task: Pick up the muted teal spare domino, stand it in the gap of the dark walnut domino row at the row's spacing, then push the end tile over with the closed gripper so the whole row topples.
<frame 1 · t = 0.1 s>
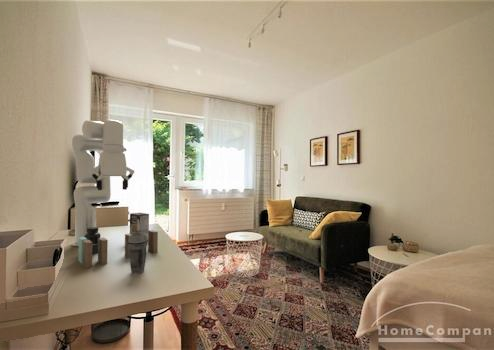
hand: (112, 189, 101), 31 cm above the table, tool pointing down, fingers open, 9 cm apart
domino 3: (129, 256, 109), on the table
teal domino: (82, 261, 103), on the table
domino 1: (87, 265, 98), on the table
beverage cup: (137, 272, 92), on the table
supplement bottle: (91, 253, 115), on the table
domino 5: (152, 251, 117), on the table
domino 2: (102, 262, 101), on the table
coffee box: (139, 242, 135), on the table
domino 4: (141, 253, 113), on the table
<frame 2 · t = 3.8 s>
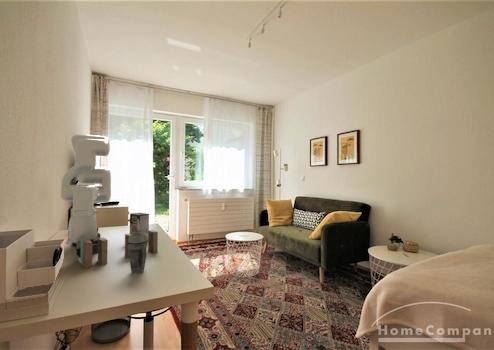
hand: (82, 256, 103), 2 cm above the table, tool pointing down, fingers closed on teal domino, 1 cm apart
teal domino: (82, 261, 103), on the table, touching gripper
everything else where it was.
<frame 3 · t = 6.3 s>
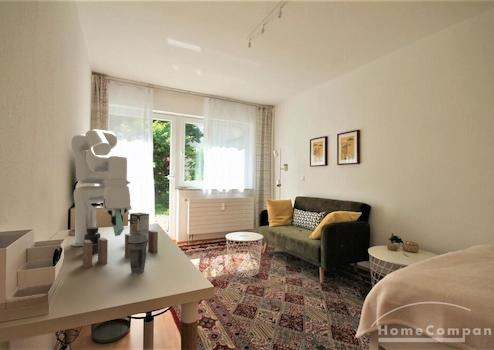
hand: (117, 224, 106), 16 cm above the table, tool pointing down, fingers closed on teal domino, 1 cm apart
teal domino: (119, 232, 103), point 12 cm above the table, tilted 36°, touching gripper
everything else where it was.
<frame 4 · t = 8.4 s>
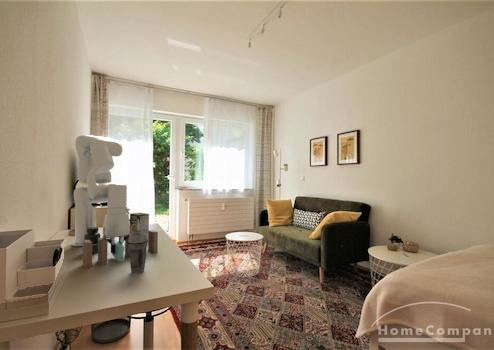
hand: (116, 252, 105), 3 cm above the table, tool pointing down, fingers closed on teal domino, 1 cm apart
teal domino: (120, 253, 102), point 4 cm above the table, tilted 82°, touching gripper
everything else where it was.
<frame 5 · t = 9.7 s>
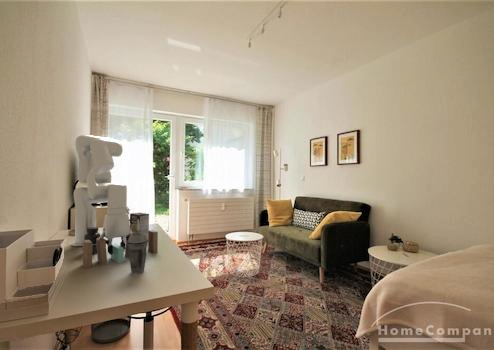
hand: (116, 252, 106), 3 cm above the table, tool pointing down, fingers open, 4 cm apart
teal domino: (121, 255, 102), point 3 cm above the table, tilted 90°
domino 2: (102, 262, 101), on the table, touching gripper
everything else where it was.
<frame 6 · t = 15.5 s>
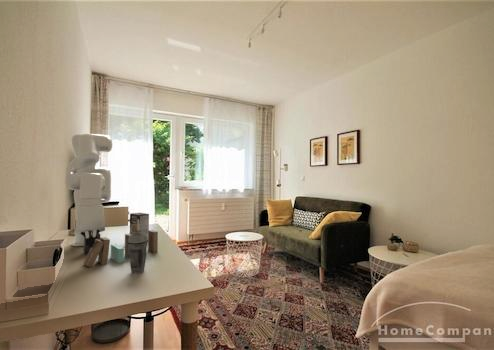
hand: (89, 246, 98), 8 cm above the table, tool pointing down, fingers closed
domino 1: (87, 264, 98), on the table, tilted 25°, touching domino 2
domino 2: (102, 262, 101), on the table, tilted 5°, touching domino 1
everything else where it was.
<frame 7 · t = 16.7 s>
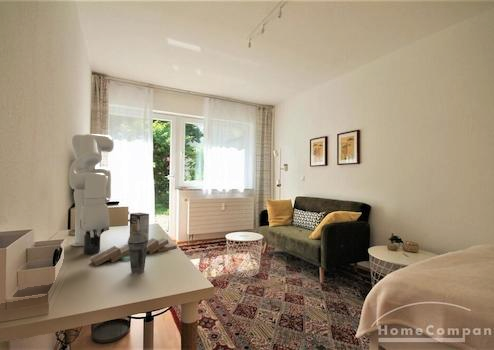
hand: (94, 246, 99), 8 cm above the table, tool pointing down, fingers closed
domino 3: (136, 252, 112), point 1 cm above the table, tilted 66°, touching domino 4
teal domino: (131, 259, 105), on the table, tilted 90°, touching domino 2
domino 1: (93, 262, 99), point 1 cm above the table, tilted 70°, touching domino 2
domino 5: (155, 250, 118), on the table, tilted 90°, touching domino 4
domino 2: (109, 258, 103), point 1 cm above the table, tilted 72°, touching domino 1, teal domino
domino 4: (147, 250, 115), point 1 cm above the table, tilted 71°, touching domino 3, domino 5
everything else where it was.
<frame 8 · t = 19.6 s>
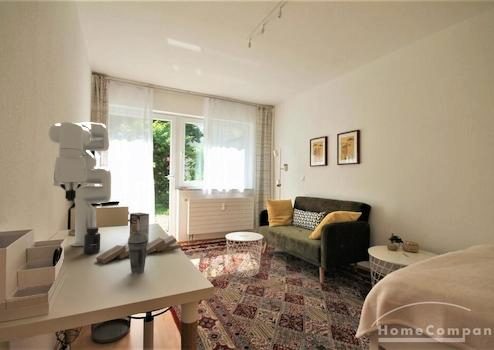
hand: (70, 200, 94), 27 cm above the table, tool pointing down, fingers closed
domino 3: (143, 251, 113), point 1 cm above the table, tilted 66°, touching domino 4
teal domino: (139, 257, 107), on the table, tilted 90°, touching domino 2
domino 1: (100, 260, 101), point 1 cm above the table, tilted 72°, touching domino 2
domino 5: (159, 249, 119), on the table, tilted 90°, touching domino 4
domino 2: (116, 256, 106), point 1 cm above the table, tilted 78°, touching domino 1, teal domino
domino 4: (155, 248, 117), point 1 cm above the table, tilted 68°, touching domino 3, domino 5
everything else where it was.
at the end: domino 5 tilted 90°; teal domino tilted 90°; the gripper is holding nothing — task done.
